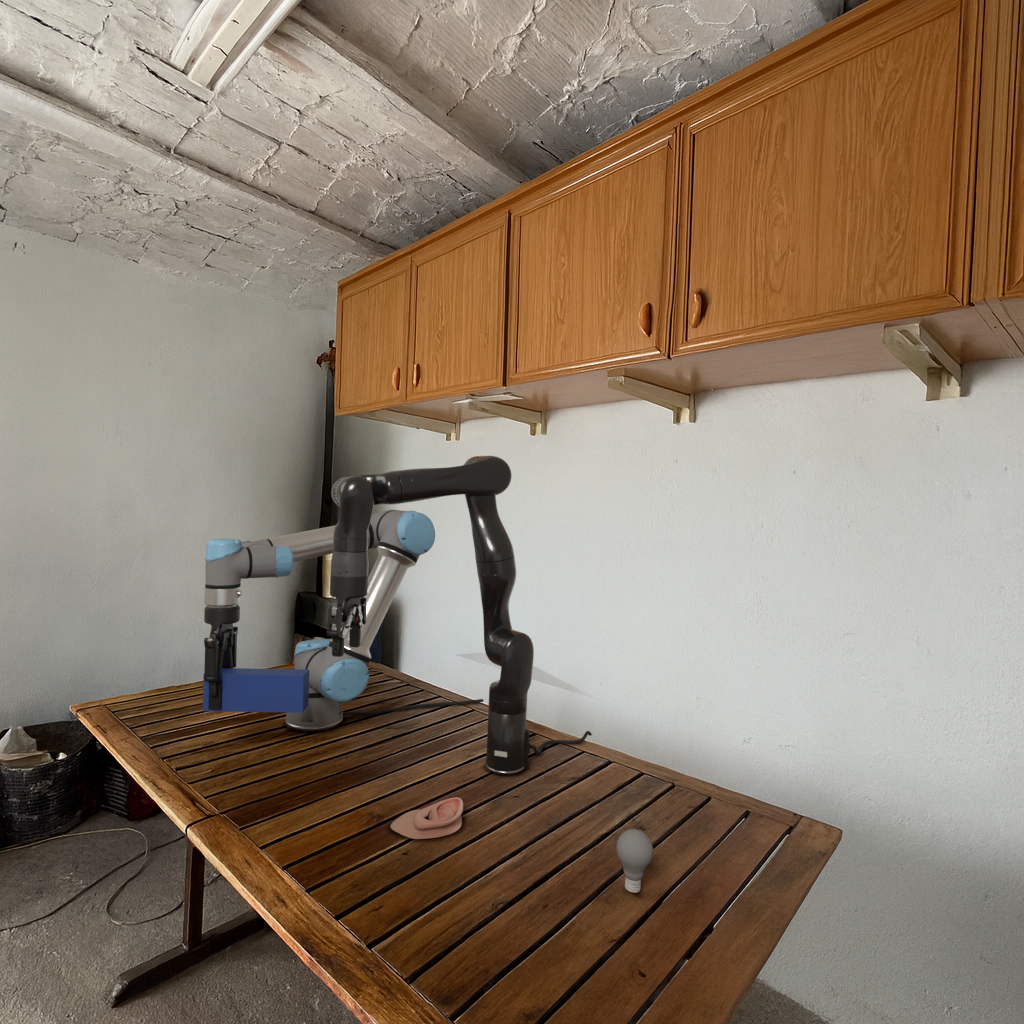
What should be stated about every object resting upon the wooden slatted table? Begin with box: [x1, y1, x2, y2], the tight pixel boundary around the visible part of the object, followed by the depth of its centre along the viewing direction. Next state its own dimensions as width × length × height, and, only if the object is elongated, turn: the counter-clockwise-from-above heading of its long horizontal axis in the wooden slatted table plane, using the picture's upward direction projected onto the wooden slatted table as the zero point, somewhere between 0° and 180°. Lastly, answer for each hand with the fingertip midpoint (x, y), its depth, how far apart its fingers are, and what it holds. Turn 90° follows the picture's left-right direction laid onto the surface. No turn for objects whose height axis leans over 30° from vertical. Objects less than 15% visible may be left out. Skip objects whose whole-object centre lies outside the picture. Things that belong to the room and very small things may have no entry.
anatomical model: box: [390, 797, 464, 840], centre depth 124 cm, size 13×4×12 cm
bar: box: [202, 667, 309, 713], centre depth 148 cm, size 23×5×9 cm, turn 93°
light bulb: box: [615, 828, 654, 894], centre depth 106 cm, size 6×6×10 cm
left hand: (220, 704), depth 148 cm, fingers closed on bar, 5 cm apart
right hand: (346, 651), depth 130 cm, fingers open, 8 cm apart
